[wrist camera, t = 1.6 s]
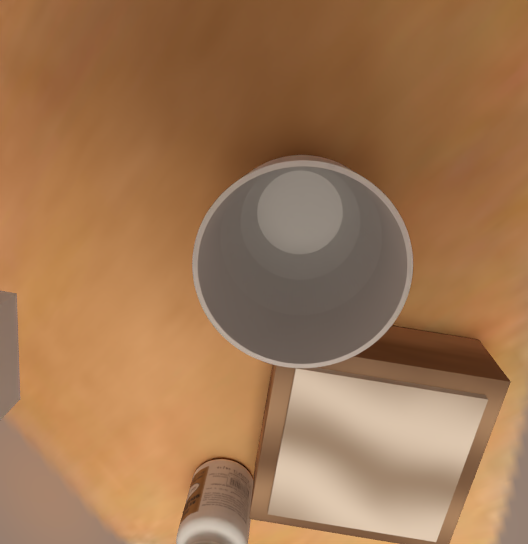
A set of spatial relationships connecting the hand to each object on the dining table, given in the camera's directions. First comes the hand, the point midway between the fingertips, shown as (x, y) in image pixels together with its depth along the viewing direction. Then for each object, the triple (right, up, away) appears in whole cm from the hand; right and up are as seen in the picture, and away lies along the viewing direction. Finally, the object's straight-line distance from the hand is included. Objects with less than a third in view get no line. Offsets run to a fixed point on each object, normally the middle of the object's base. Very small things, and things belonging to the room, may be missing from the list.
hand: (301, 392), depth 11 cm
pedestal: (+5, -6, +20) cm, 22 cm away
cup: (+1, +6, +17) cm, 18 cm away
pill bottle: (-4, -12, +23) cm, 27 cm away
